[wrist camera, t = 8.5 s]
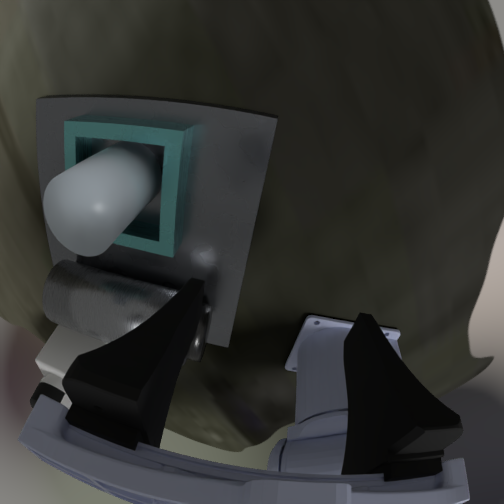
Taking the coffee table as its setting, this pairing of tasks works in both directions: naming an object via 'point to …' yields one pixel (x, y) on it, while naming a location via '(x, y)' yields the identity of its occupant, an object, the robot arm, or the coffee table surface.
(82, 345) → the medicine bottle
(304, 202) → the coffee table surface
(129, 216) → the white rounded cylinder
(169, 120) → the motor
